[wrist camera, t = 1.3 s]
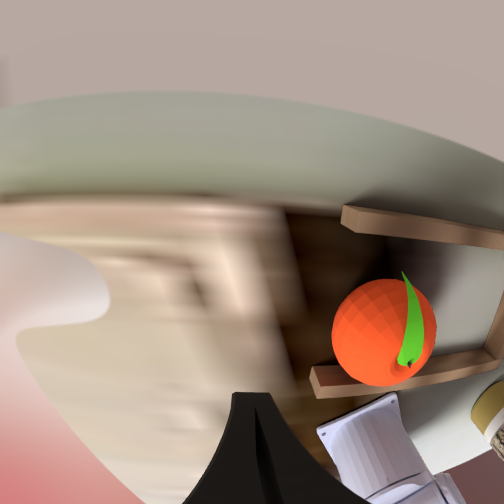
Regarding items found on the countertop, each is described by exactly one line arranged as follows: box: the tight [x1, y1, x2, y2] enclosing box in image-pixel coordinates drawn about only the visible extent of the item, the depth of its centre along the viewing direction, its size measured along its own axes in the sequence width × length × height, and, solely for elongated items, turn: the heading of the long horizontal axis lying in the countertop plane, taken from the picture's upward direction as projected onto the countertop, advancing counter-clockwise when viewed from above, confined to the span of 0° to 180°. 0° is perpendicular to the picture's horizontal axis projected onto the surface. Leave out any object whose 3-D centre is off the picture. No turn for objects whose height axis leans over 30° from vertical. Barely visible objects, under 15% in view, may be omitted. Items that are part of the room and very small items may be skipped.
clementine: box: [332, 272, 437, 386], centre depth 18 cm, size 8×7×7 cm
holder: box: [309, 205, 504, 399], centre depth 21 cm, size 21×13×2 cm, turn 85°
